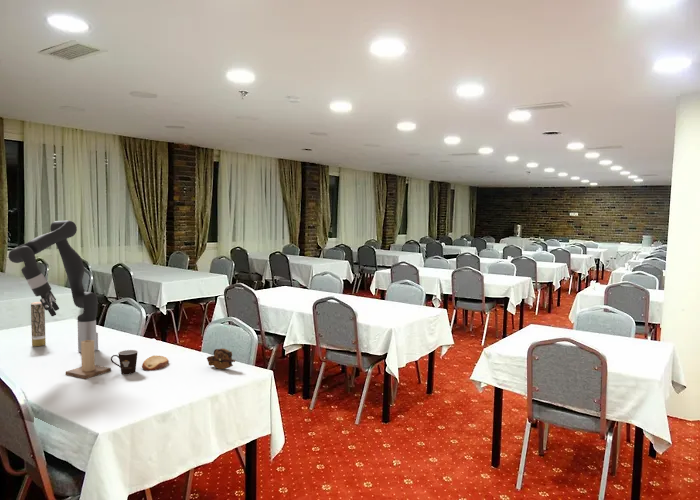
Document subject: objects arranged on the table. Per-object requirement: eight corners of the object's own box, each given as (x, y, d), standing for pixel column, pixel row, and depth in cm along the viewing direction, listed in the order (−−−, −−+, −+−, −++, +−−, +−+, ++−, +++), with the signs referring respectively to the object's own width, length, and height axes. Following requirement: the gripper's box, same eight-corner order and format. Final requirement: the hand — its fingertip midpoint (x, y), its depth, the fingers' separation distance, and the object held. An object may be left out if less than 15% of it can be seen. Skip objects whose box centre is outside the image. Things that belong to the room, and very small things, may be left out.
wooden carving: (204, 368, 259) (204, 348, 259) (209, 365, 264) (209, 346, 263) (232, 371, 254) (232, 351, 253) (237, 369, 258) (237, 349, 257)
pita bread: (159, 358, 277) (158, 351, 277) (180, 364, 267) (180, 357, 266) (128, 366, 262) (128, 358, 262) (149, 372, 252) (149, 365, 252)
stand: (91, 366, 259) (91, 352, 258) (110, 370, 253) (110, 355, 252) (65, 374, 246) (65, 359, 245) (85, 378, 240) (85, 363, 239)
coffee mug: (141, 370, 253) (141, 350, 252) (129, 376, 245) (128, 355, 244) (123, 368, 257) (122, 348, 256) (109, 373, 249) (109, 353, 248)
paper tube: (39, 347, 296) (38, 304, 294) (29, 346, 297) (27, 303, 295) (48, 344, 302) (47, 302, 300) (38, 343, 304) (37, 301, 302)
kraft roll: (89, 367, 253) (88, 339, 252) (97, 369, 250) (96, 340, 249) (79, 370, 248) (78, 341, 247) (87, 372, 246) (86, 343, 245)
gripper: (43, 285, 244) (61, 314, 249) (49, 277, 257) (65, 304, 262) (27, 292, 242) (45, 321, 247) (34, 283, 255) (50, 311, 260)
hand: (55, 312), depth 255 cm, fingers open, 8 cm apart
